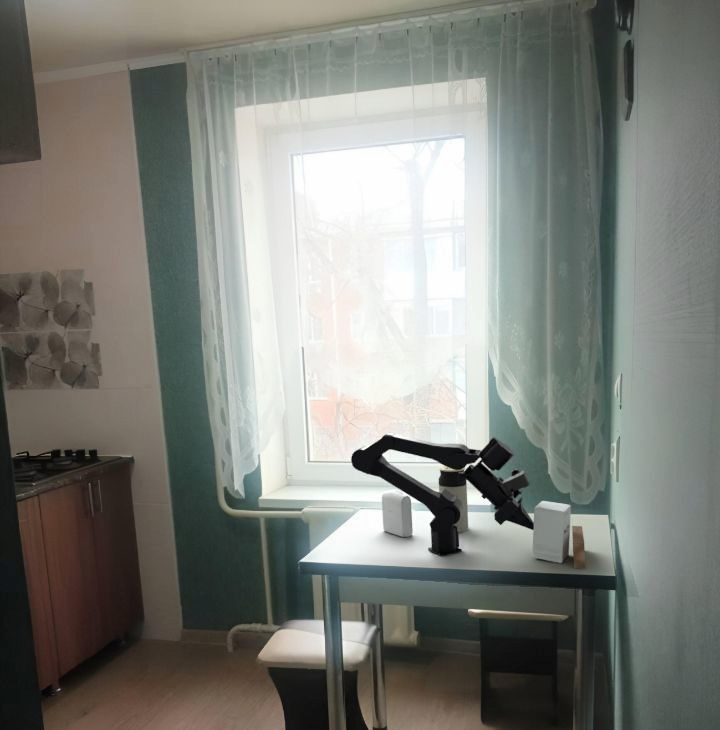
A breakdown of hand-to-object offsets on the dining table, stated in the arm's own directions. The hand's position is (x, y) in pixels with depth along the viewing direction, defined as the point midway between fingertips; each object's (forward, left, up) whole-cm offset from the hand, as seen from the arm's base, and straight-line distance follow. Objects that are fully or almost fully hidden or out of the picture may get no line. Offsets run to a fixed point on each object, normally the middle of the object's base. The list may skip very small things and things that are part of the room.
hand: (534, 528), depth 153 cm
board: (+7, -7, -7) cm, 12 cm away
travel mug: (-1, +31, -7) cm, 32 cm away
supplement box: (+2, -3, -7) cm, 8 cm away
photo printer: (-16, +38, -7) cm, 42 cm away
